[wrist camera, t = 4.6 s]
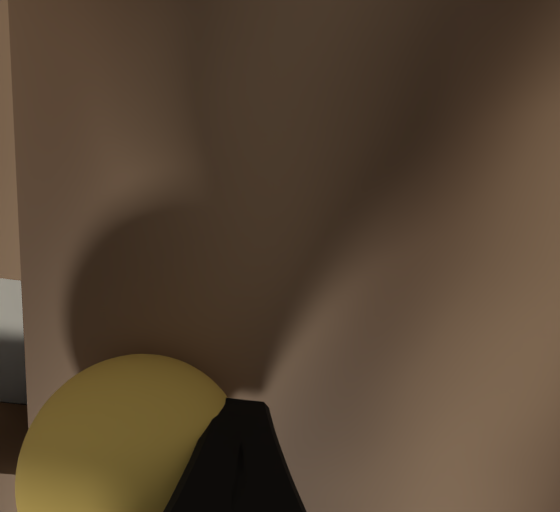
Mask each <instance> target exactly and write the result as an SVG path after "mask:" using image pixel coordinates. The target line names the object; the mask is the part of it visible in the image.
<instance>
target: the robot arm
mask: <svg viewBox="0 0 560 512" xmlns="http://www.w3.org/2000/svg"><path fill="white" fill-rule="evenodd" d="M163 512H307V511H306V509H305V507H304V504H303V502H302V500H301V498H300V495H299V493H298V491H297V488H296V486H295V484H294V481H293V479H292V476H291V474H290V471H289V468H288V466H287V463H286V460H285V458H284V455H283V452H282V449H281V447H280V444H279V441H278V438H277V435H276V431H275V428H274V425H273V421H272V418H271V414H270V409H269V407H268V406H267V405H266V404H265V402H261V401H252V400H243V399H233V398H226V400H225V405H224V407H223V408H222V410H221V411H220V412H219V414H218V415H217V416H216V417H214V418H213V419H212V420H211V422H210V424H209V425H208V427H207V428H206V430H205V431H204V432H203V434H202V435H201V437H200V438H199V439H198V441H197V444H196V446H195V448H194V451H193V453H192V455H191V458H190V460H189V462H188V464H187V466H186V468H185V470H184V472H183V474H182V476H181V478H180V480H179V482H178V484H177V486H176V488H175V490H174V492H173V494H172V496H171V498H170V500H169V502H168V504H167V505H166V507H165V509H164V511H163Z"/></svg>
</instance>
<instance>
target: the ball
mask: <svg viewBox="0 0 560 512" xmlns="http://www.w3.org/2000/svg"><path fill="white" fill-rule="evenodd" d="M226 398H228V397H227V396H226V394H225V393H224V392H223V390H222V389H221V388H220V387H219V386H218V385H217V384H216V383H215V382H214V381H213V380H212V379H211V378H210V377H208V376H207V375H206V374H204V373H203V372H202V371H200V370H198V369H197V368H195V367H193V366H191V365H189V364H188V363H186V362H183V361H180V360H178V359H174V358H171V357H167V356H162V355H154V354H130V355H124V356H119V357H115V358H111V359H108V360H105V361H102V362H99V363H97V364H94V365H92V366H90V367H88V368H86V369H85V370H83V371H81V372H80V373H78V374H76V375H75V376H74V377H72V378H71V379H69V380H68V381H67V382H66V383H65V384H63V385H62V386H61V387H60V388H59V389H58V390H57V391H56V392H55V393H54V394H53V395H52V396H51V397H50V398H49V399H48V400H47V401H46V403H45V404H44V405H43V406H42V408H41V409H40V411H39V412H38V414H37V416H36V417H35V419H34V420H33V422H32V424H31V425H30V427H29V429H28V432H27V434H26V436H25V439H24V441H23V444H22V447H21V450H20V454H19V457H18V462H17V468H16V476H15V498H16V506H17V512H163V511H164V509H165V507H166V505H167V504H168V502H169V500H170V498H171V496H172V494H173V492H174V490H175V488H176V486H177V484H178V482H179V480H180V478H181V476H182V474H183V472H184V470H185V468H186V466H187V464H188V462H189V460H190V458H191V455H192V453H193V451H194V448H195V446H196V444H197V441H198V439H199V438H200V437H201V435H202V434H203V432H204V431H205V430H206V428H207V427H208V425H209V424H210V422H211V420H212V419H213V418H214V417H216V416H217V415H218V414H219V412H220V411H221V410H222V408H223V407H224V405H225V400H226Z"/></svg>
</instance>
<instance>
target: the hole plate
mask: <svg viewBox="0 0 560 512" xmlns="http://www.w3.org/2000/svg"><path fill="white" fill-rule="evenodd" d="M0 278H5V279H13V280H21V286H22V307H23V328H24V349H25V370H26V391H27V405H22V404H11V403H1V402H0V512H17V506H16V498H15V476H16V468H17V462H18V457H19V454H20V450H21V447H22V444H23V441H24V439H25V436H26V434H27V432H28V429H29V427H30V425H31V424H32V422H33V420H34V419H35V417H36V416H37V414H38V412H39V411H40V409H41V408H42V406H43V405H44V404H45V403H46V401H47V400H48V399H49V398H50V397H51V396H52V395H53V394H54V393H55V392H56V391H57V390H58V389H59V388H60V387H61V386H62V385H63V384H65V383H66V382H67V381H68V380H69V379H71V378H72V377H74V376H75V375H76V374H78V373H80V372H81V371H83V370H85V369H86V368H88V367H90V366H92V365H94V364H97V363H99V362H102V361H105V360H108V359H111V358H115V357H119V356H124V355H130V354H154V355H162V356H167V357H171V358H174V359H178V360H180V361H183V362H186V363H188V364H189V365H191V366H193V367H195V368H197V369H198V370H200V371H202V372H203V373H204V374H206V375H207V376H208V377H210V378H211V379H212V380H213V381H214V382H215V383H216V384H217V385H218V386H219V387H220V388H221V389H222V390H223V392H224V393H225V394H226V396H227V397H228V398H233V399H243V400H252V401H261V402H265V404H266V405H267V406H268V407H269V409H270V414H271V418H272V421H273V425H274V428H275V431H276V435H277V438H278V441H279V444H280V447H281V449H282V452H283V455H284V458H285V460H286V463H287V466H288V468H289V471H290V474H291V476H292V479H293V481H294V484H295V486H296V488H297V491H298V493H299V495H300V498H301V500H302V502H303V504H304V507H305V509H306V511H307V512H560V0H0Z"/></svg>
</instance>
